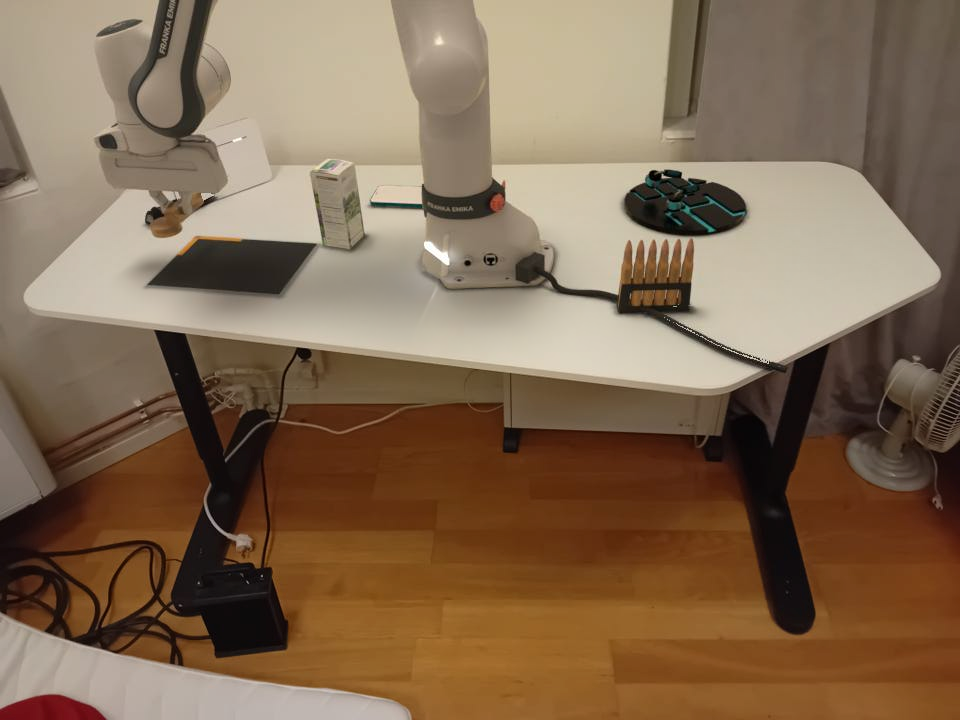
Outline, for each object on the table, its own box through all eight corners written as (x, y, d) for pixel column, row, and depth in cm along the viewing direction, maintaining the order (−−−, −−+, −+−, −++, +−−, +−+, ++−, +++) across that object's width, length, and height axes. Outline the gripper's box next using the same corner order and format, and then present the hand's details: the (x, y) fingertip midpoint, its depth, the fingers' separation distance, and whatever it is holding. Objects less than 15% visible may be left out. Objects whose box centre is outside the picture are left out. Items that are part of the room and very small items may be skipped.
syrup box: (338, 232, 138) (324, 157, 130) (366, 236, 137) (354, 160, 128) (322, 246, 134) (307, 170, 125) (351, 251, 133) (338, 174, 124)
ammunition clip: (617, 313, 113) (623, 243, 106) (616, 306, 115) (621, 237, 107) (689, 311, 113) (699, 241, 105) (686, 304, 114) (697, 234, 107)
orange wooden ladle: (186, 202, 132) (182, 188, 130) (211, 203, 131) (207, 189, 129) (146, 237, 122) (141, 223, 120) (173, 239, 121) (168, 224, 119)
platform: (700, 174, 151) (704, 143, 147) (770, 219, 134) (777, 185, 130) (603, 195, 145) (604, 164, 141) (664, 245, 129) (668, 211, 125)
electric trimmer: (222, 199, 153) (218, 185, 151) (155, 229, 143) (150, 213, 141) (211, 195, 154) (207, 181, 153) (144, 224, 145) (139, 209, 143)
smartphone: (456, 191, 150) (379, 188, 152) (456, 187, 149) (379, 184, 152) (449, 210, 144) (369, 206, 146) (449, 205, 143) (368, 202, 145)
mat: (317, 245, 135) (317, 243, 135) (279, 296, 122) (278, 293, 121) (196, 238, 139) (196, 235, 139) (147, 286, 126) (146, 284, 126)
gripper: (222, 127, 117) (243, 207, 126) (106, 123, 121) (134, 201, 130) (203, 142, 113) (225, 225, 121) (83, 138, 116) (113, 218, 125)
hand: (177, 213), depth 125 cm, fingers closed on orange wooden ladle, 2 cm apart
